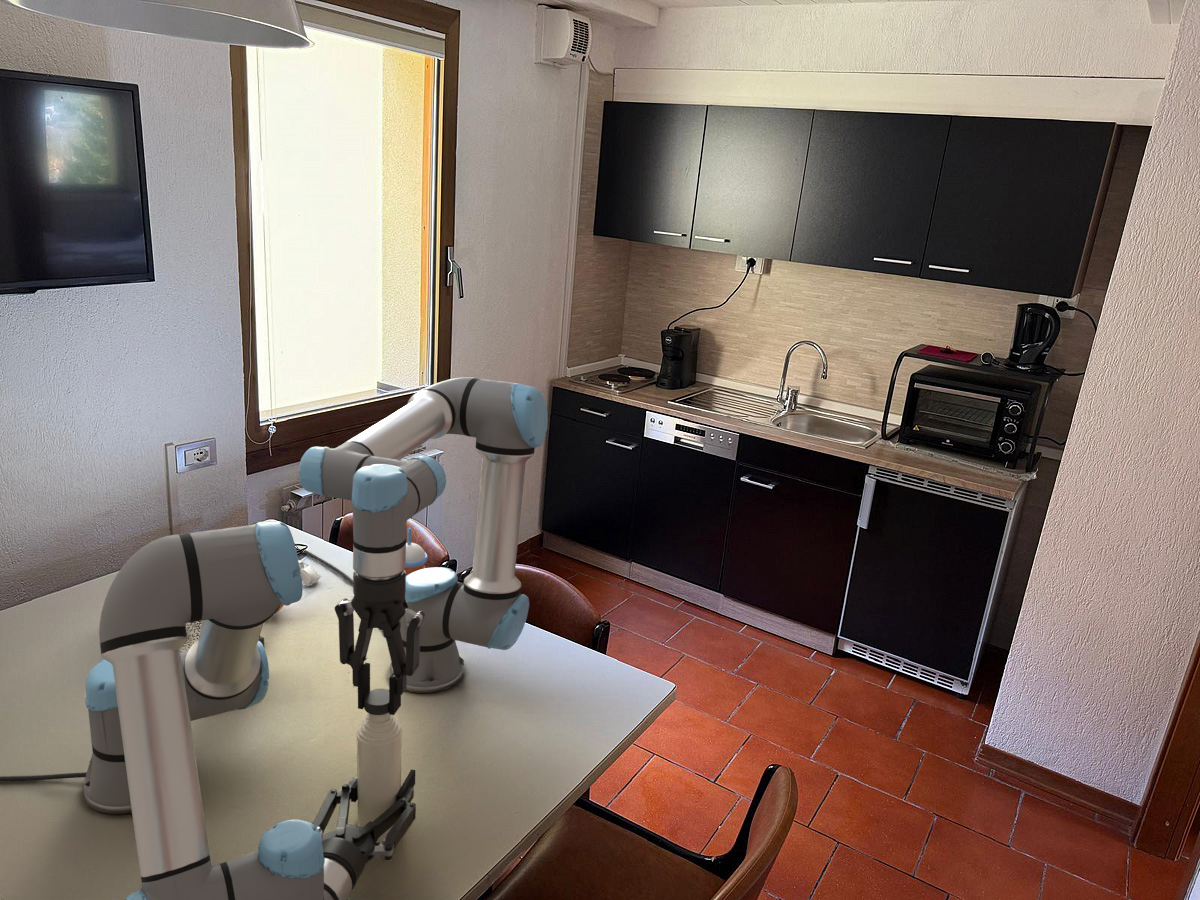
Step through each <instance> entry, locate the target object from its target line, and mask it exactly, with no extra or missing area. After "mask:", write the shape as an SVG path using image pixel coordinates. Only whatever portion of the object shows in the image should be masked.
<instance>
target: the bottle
mask: <svg viewBox="0 0 1200 900" xmlns="http://www.w3.org/2000/svg"><path fill="white" fill-rule="evenodd" d="M402 729H403V728H402V726H401V723H400V721H399V719H398V718H397V717H396V715H395V714H394V715H389V713H387V714H384V715H372V714H369V713H367V715H366V716H365V717H364V718H363V719H362V721H361V723H360V724H359V726H358V728H357V731H356V778H357V801H356V802H357V804H356V805H357V826H362V827H364V826H365V825H366V824H367V823H368V822H370V821H371V822H373V821H374V820H375V819H376V818H378V817H379V816H380V815H381V814H382V813H384V812H385V811H386V810H387V809H388V808H390V807H391V806H392V805H393V804H394V803H395V802H396V795H397V793H398V792H399V790H400V788H401V786H402V753H403V752H402V745H403V743H402V742H403V739H402V738H403V737H402V736H403V730H402ZM392 827H393V826H392ZM392 827H391V828H392ZM391 828H389V829H388V830H387V831H386V832H385V833H384V834H383V835H381V836H380V837H379V838H378V840H377V842H376V843H375V844H380V843H381V842H382V839H384V838H385V839H386V836H387V834H388V832H389V831H390V829H391Z"/></svg>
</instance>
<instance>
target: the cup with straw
mask: <svg viewBox="0 0 1200 900" xmlns="http://www.w3.org/2000/svg"><path fill="white" fill-rule="evenodd" d="M428 558H429V557H428V554H427V552H426V551H425V550H424V549H423V547H422V546H421V545H419V544H418V543H415V542H412V527H407V539H406V567H405V571H406V576H407V575H409V574H410V573H412V572H415V571H418V570H421V569H425V568H426V566H425V564H426V563H428Z"/></svg>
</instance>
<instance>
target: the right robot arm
mask: <svg viewBox="0 0 1200 900" xmlns="http://www.w3.org/2000/svg"><path fill="white" fill-rule="evenodd" d="M548 417H549V416H548V408H547V402H546V399H545V397H544V395H543V393H542V391H541V390H540V389H538V388H537V387H536V386H535V387H534V386H531V385H526V384H523V383H519V382H511V381H502V380H493V379H486V378H477V377H471V376H462V377H461V376H460V377H454V378H449V379H446V380H442V381H440V382H436V383H433V384H431V385H429V386H426V387H423V389H421V390H419V391H417V392H416V393H413V394H412V395H411V396H410V398H409V399H408V401H407V404H405V405H404V406H403V407H401V408H399V409H397V410H396V411H395V412H393V413H391V414H390V415H388V416H387V417H385V418H383V419H381V420H380V421H378V422H377V423H375V424H373V425H371V426H370V427H368V428H367V429H365V430H364V431H362V432H360V433H358V434H357V435H355V436H353V437H352V438H350V439H348V440H346V441H345V442H344V443H342V444H341V445H338V446H337V447H335V448H332V447H331V448H330V447H329V446H311V447H310V448H308V449H307V450H306V451H305V452H304V454H303V455H302V456H301V458H300V461H299V465H298V481H299V484H300V486H301V488H302V489H303V490H304V491H306V492H308V493H311V494H316V495H319V496H322V497H325V498H326V497H327V498H328V497H329V498H334V499H340V500H345V501H351V506H352V533H353V535H352V536H353V537H352V570H353V573H352V577H353V578H351V577H349V576H348V575H347V574H346V573H344V572H343V571H342V570H340V569H339V568H337V567H336V566H334V565H332V564H331V563H330V562H328V561H326V560H324V559H322V558H321V557H319V556H317V555H316V554H313V553H312V552H310V551H308V550H306V549H305V551H304V552H303V553H304V554H306V556H307V555H308V556H309V557H311V558H313V559H315V560H316V561H318V562H320V563H321V564H323V565H325V566H326V567H328V568H329V569H331V570H332V571H334V572H336V573H338V574H339V575H340V576H341V577H343V578H344V579H345V580H346V581H348V582H349V583H350V584H351V585H352V592H353V593H352V594H353V597H352V598H351V599H348V598H343V599H342V600H340V601H339V602H338V603H337V604H336V605H335V606H334V607H333V608H334V612H335V614H336V617H337V620H338V641H339V643H338V647H339V648H338V649H339V662H340V663H341V664H342V665H348V666H350V668H351V670H352V673H351V674H352V685H353V687H355V688H357V709H359V710H363V709H364V698H365V695H366V694H367V693H368V692H370V691H371V663H370V662H366V661H367V660H368V657H367V655H368V651H369V647H370V643H371V639H372V635H373V631H374V629H378V630H381V631H382V635H383V637H384V638H385V640H386V644H387V648H388V649H387V650H388V653H389V657H390V666H389V677H388V679H389V680H388V683H389V684H388V690H389V715H394V716H395V714H396V713H398V711H399V709H400V708H401V707H402V695H403V694H404V693H405V691H407V692H410V693H416V694H430V693H431V694H432V693H438V692H441V691H445V690H447V689H450V688H451V687H453V686H455V685H456V684H457V683H458V682H459V681H460V680H461V679H462V676H463V672H464V665H465V660H464V659H463V658H462V657H461V656H460V653H459V649H458V646H457V642H462V643H467V644H471V645H475V646H479V647H484V648H487V649H489V650H490V649H494V650H501V651H507V650H509V649H511V648H512V647H513V646H514V645H515V644H516V643H517V641H518V640H519V638H520V636H521V634H522V631H523V629H524V628H525V624H526V621H527V619H528V614H529V610H530V598H529V596H528V595H526V594H525V593H524V594H523V593H522V591H521V590H522V582H521V581H520V579H519V578H518V577H517V576H516V566H517V565H516V564H517V554H518V544H519V537H520V535H519V534H520V526H521V525H520V523H521V516H522V515H521V514H522V505H523V492H524V483H525V472H526V464H527V461H528V460H529V459H531V458H532V457H533V456H534V455H535V449H536V448H539V447H541V446H542V445H543V444H544V442H545V439H546V433H547V431H548V423H549V421H548V420H549V419H548ZM445 435H459V436H465V437H470V438H475V450H476V452H477V453H478V454H479V455H480V457H481V458H482V459H481V470H480V480H479V491H478V501H477V502H478V504H477V514H476V515H477V516H476V525H475V536H474V537H475V538H474V548H473V549H474V550H473V559H472V572H470V573H469V574H468V575H467V576H465V577H464V579H463V582H460V581H458V580H459V579H458V578H459V577H458V575H457V572H456V571H454V570H453V569H451V568H448V567H441V566H440V567H439V566H433V567H425V569H421V570H418V571H415V572H412V573H410V574H409V575H407V576H406V571H405V567H406V543H407V522H408V520H410V519H411V518H413V517H414V516H415V515H417V514H418V513H420V512H421V511H422V510H424V509H425V508H427V507H430V506H431V505H433V504H434V502H435V501H436V500H437V499H439V497H440V496H441V495H443V493H444V491H445V489H446V485H447V475H446V472H445V469H444V468H443V466H442V465H441V463H440V462H439V461H438V460H436V459H435V458H433V457H431V456H428V455H418V456H414V457H411V458H409V459H407V460H403V459H404V458H405V457H406V456H408V455H409V454H411V453H412V452H413V451H416V449H418V448H419V447H420V446H422V445H423V444H425V443H426V442H428V441H429V440H435V439H440V438H442V437H444V436H445ZM521 593H522V594H521ZM354 612H355V613H356V614H357V617H358V618H359V619H360V620H359V621H360V622H359V626H358V633H357V634H358V635H357V638H356V643H355V622H354V621H355V620H354V619H355V618H354ZM456 641H457V642H456Z"/></svg>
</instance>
